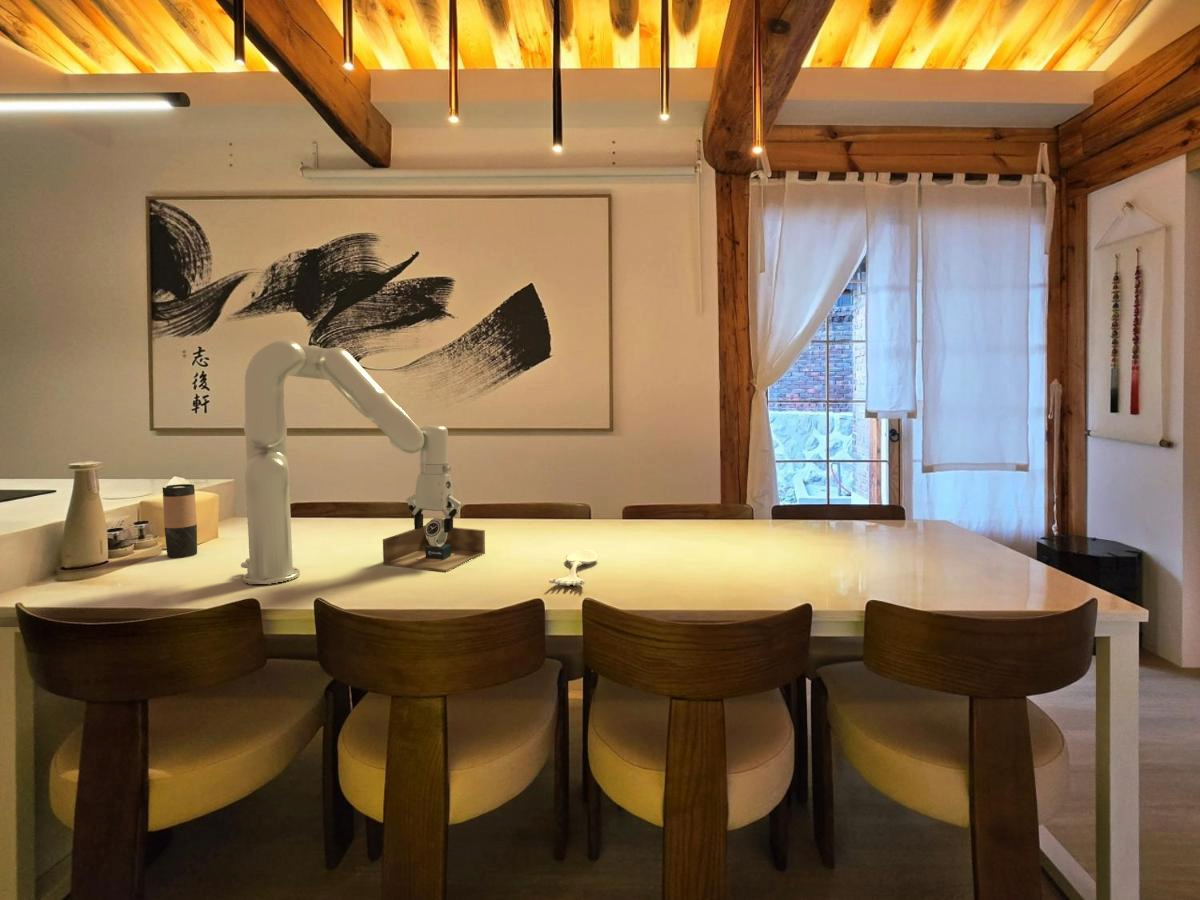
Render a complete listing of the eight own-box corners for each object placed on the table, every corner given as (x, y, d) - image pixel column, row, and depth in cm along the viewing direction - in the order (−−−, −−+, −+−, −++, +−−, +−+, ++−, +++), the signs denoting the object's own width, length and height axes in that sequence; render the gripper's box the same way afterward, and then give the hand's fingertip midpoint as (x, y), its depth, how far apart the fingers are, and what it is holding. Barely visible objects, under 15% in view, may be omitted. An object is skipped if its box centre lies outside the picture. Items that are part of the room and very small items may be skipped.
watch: (421, 559, 171) (421, 520, 170) (436, 552, 179) (435, 515, 178) (440, 561, 170) (439, 521, 169) (454, 554, 177) (453, 516, 176)
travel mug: (203, 554, 179) (199, 485, 177) (173, 560, 172) (169, 488, 170) (190, 550, 183) (186, 483, 181) (161, 556, 176) (157, 486, 175)
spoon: (547, 592, 147) (547, 578, 147) (569, 557, 179) (569, 545, 178) (584, 594, 146) (585, 580, 146) (600, 558, 178) (600, 546, 177)
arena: (383, 564, 169) (382, 539, 168) (426, 547, 188) (426, 524, 187) (446, 571, 163) (446, 545, 162) (484, 553, 181) (484, 530, 181)
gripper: (468, 470, 174) (467, 530, 175) (415, 466, 179) (415, 524, 181) (453, 473, 166) (452, 535, 168) (399, 469, 172) (399, 529, 173)
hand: (433, 530), depth 174 cm, fingers open, 9 cm apart
